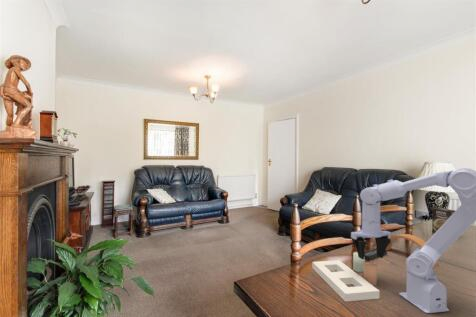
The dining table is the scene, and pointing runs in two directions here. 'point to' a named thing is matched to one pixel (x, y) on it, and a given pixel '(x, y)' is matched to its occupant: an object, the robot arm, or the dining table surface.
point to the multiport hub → (372, 254)
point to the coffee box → (440, 218)
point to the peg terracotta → (370, 273)
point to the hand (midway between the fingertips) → (370, 257)
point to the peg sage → (358, 263)
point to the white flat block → (345, 281)
